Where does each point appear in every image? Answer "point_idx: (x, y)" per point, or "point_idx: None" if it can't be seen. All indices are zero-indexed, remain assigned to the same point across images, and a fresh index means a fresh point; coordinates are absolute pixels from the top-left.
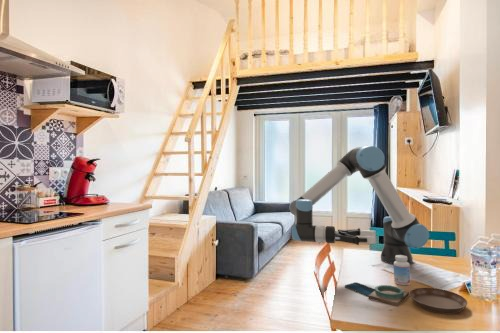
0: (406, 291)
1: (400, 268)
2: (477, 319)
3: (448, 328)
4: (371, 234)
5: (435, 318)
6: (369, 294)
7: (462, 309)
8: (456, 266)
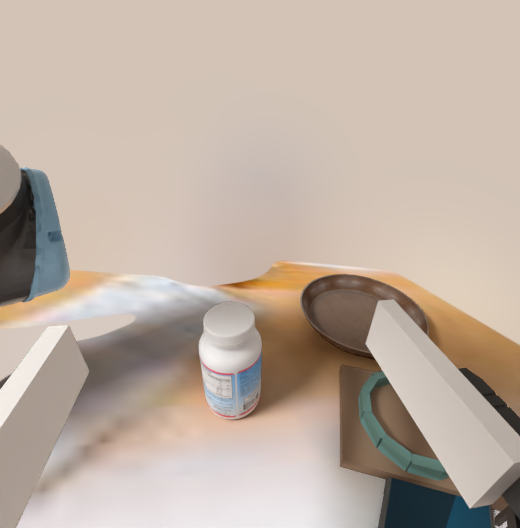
0: (343, 371)
1: (261, 353)
2: (377, 280)
3: (462, 311)
4: (60, 390)
5: (439, 325)
6: (475, 511)
7: (367, 287)
8: None
